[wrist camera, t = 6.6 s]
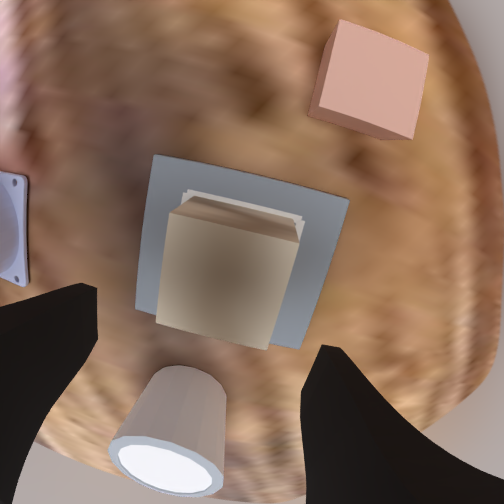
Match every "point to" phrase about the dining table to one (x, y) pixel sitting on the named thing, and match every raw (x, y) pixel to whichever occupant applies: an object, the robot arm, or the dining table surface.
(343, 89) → the top block
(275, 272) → the base block
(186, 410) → the grey cylinder
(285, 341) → the base plate
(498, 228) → the dining table surface
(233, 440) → the dining table surface
